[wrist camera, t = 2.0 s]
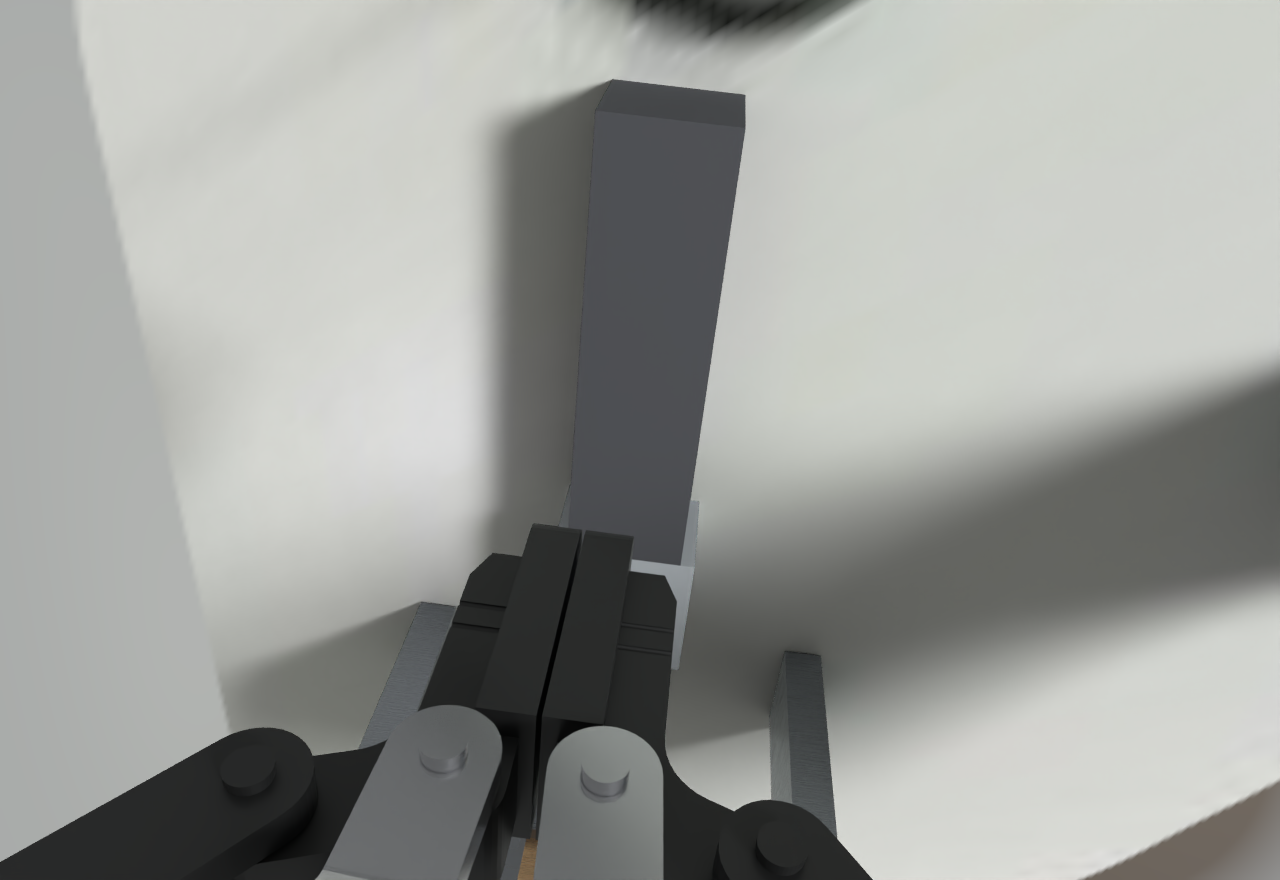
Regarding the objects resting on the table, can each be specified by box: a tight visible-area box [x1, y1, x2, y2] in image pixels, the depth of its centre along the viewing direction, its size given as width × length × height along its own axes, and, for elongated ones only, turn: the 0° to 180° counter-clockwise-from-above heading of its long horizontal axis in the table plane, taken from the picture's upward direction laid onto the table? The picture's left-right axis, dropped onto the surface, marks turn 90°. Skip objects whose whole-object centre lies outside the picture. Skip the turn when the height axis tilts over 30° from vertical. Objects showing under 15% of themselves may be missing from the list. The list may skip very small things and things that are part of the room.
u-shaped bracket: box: [359, 602, 837, 880], centre depth 37 cm, size 17×4×12 cm, turn 85°
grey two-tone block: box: [559, 79, 745, 670], centre depth 33 cm, size 5×22×4 cm, turn 175°
